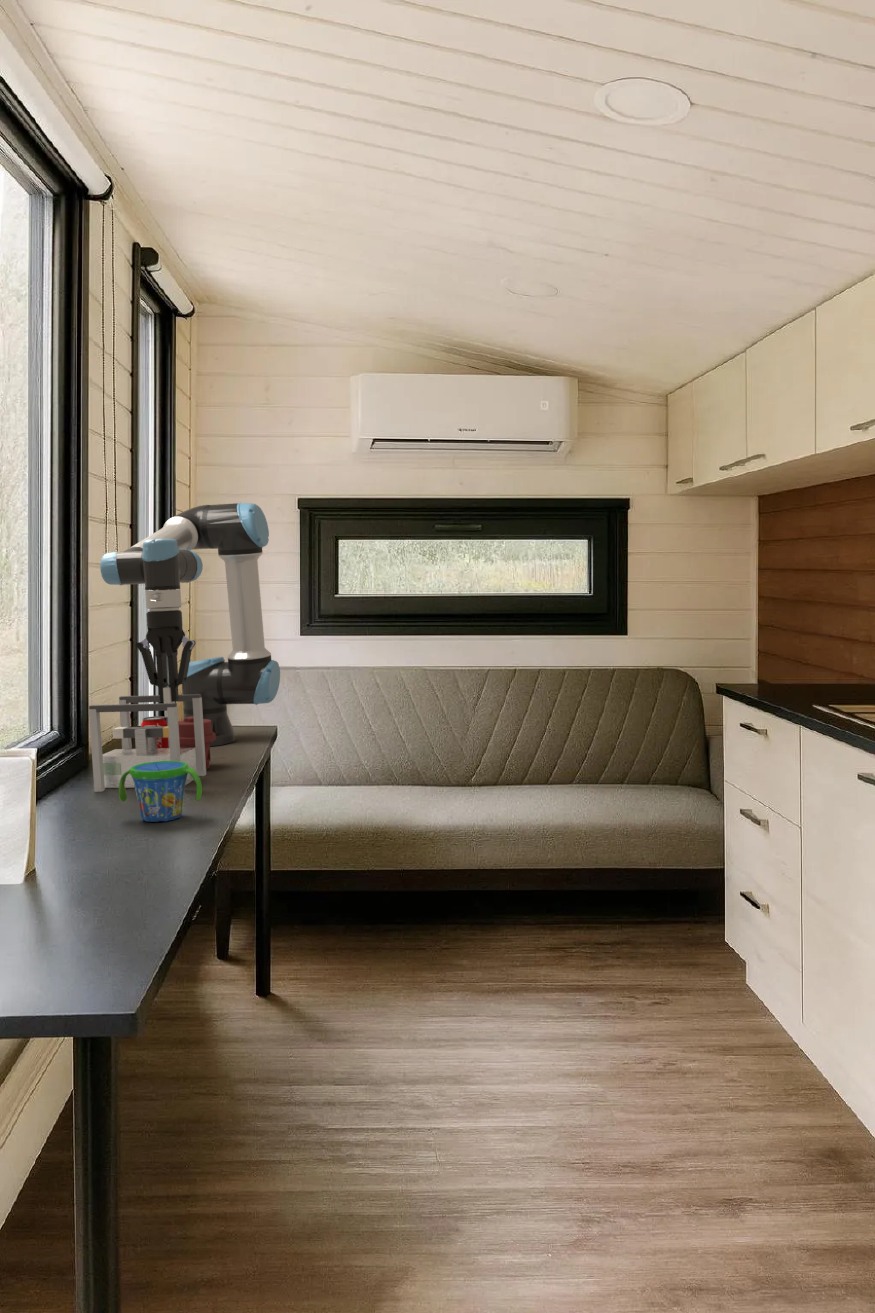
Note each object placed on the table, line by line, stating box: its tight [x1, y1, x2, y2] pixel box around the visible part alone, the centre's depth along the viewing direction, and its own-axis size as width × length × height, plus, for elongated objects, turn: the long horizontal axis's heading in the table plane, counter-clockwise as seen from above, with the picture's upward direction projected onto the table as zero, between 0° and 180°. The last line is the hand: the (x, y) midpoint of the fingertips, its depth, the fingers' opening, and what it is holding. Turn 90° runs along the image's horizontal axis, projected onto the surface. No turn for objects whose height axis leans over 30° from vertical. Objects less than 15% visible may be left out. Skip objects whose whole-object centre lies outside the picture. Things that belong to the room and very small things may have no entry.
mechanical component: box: [178, 716, 216, 770], centre depth 235 cm, size 12×10×10 cm
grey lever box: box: [102, 725, 197, 789], centre depth 220 cm, size 9×19×12 cm, turn 84°
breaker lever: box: [111, 725, 169, 740], centre depth 219 cm, size 3×14×2 cm, turn 84°
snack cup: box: [118, 761, 203, 823], centre depth 187 cm, size 16×10×10 cm
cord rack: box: [88, 694, 207, 793], centre depth 220 cm, size 17×19×19 cm
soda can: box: [140, 715, 170, 748], centre depth 239 cm, size 6×6×12 cm
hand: (170, 716), depth 218 cm, fingers closed
